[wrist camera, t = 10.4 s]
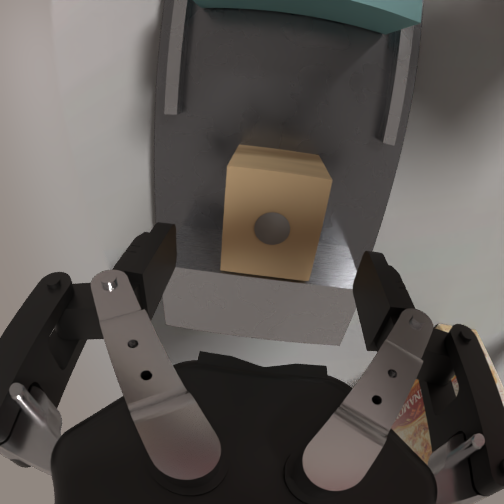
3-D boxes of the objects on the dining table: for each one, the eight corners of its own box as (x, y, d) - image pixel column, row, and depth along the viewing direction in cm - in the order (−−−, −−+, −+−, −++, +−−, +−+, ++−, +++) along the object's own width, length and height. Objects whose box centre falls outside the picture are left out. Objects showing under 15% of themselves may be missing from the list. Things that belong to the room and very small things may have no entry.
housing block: (239, 144, 18) (226, 166, 14) (318, 155, 18) (332, 180, 14) (231, 228, 21) (220, 271, 17) (302, 237, 21) (308, 282, 17)
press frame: (184, -64, 11) (152, -103, 6) (415, -30, 11) (459, -56, 5) (165, 276, 26) (141, 329, 20) (347, 298, 26) (360, 355, 20)
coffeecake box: (437, 321, 27) (496, 490, 10) (477, 328, 27) (535, 469, 11) (373, 399, 35) (390, 532, 18) (412, 399, 35) (436, 519, 19)
